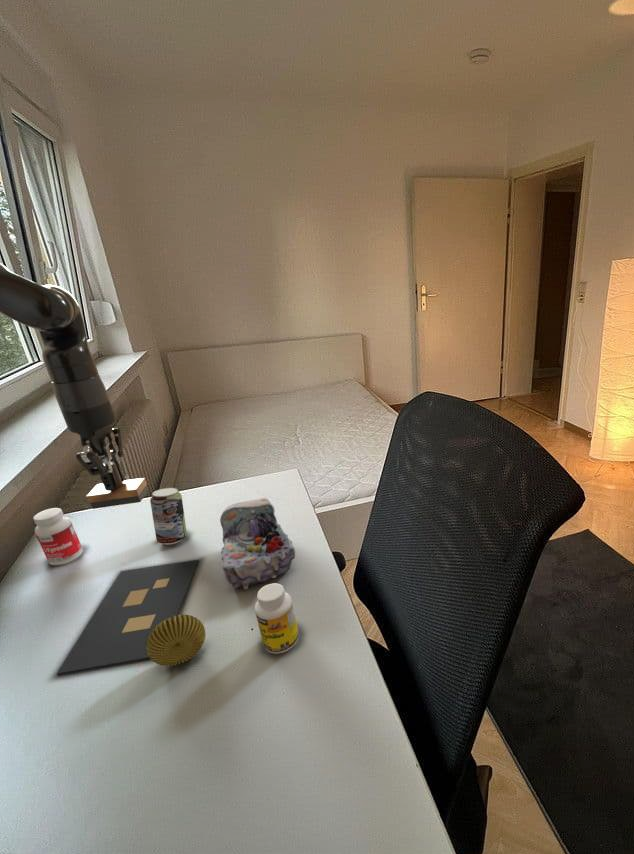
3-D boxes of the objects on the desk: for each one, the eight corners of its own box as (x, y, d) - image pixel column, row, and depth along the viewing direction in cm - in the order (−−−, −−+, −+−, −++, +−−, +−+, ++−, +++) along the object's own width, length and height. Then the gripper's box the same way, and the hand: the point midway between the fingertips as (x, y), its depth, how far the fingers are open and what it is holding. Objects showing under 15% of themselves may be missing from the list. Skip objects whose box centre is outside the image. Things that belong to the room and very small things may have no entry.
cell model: (268, 486, 96) (295, 532, 80) (276, 527, 101) (303, 578, 85) (204, 504, 91) (220, 557, 75) (215, 546, 95) (233, 606, 79)
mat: (57, 676, 67) (56, 673, 67) (121, 573, 89) (121, 571, 89) (162, 657, 69) (160, 655, 69) (199, 561, 91) (199, 559, 91)
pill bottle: (46, 570, 91) (24, 525, 87) (52, 554, 96) (32, 510, 92) (81, 560, 94) (62, 516, 89) (86, 545, 99) (68, 502, 94)
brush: (91, 509, 85) (76, 473, 82) (102, 497, 90) (88, 461, 87) (141, 502, 87) (128, 466, 84) (149, 490, 91) (137, 455, 88)
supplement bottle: (257, 653, 69) (244, 603, 65) (273, 625, 74) (262, 577, 70) (290, 658, 68) (279, 607, 64) (305, 629, 73) (295, 580, 69)
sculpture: (208, 638, 72) (196, 600, 69) (212, 655, 69) (200, 617, 66) (154, 662, 69) (138, 623, 65) (156, 681, 65) (140, 641, 62)
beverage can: (152, 547, 96) (135, 500, 92) (175, 528, 103) (161, 483, 98) (176, 550, 95) (160, 502, 90) (198, 530, 101) (185, 485, 97)
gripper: (80, 393, 86) (109, 472, 93) (40, 417, 73) (78, 506, 80) (121, 389, 87) (147, 467, 94) (90, 412, 74) (122, 500, 81)
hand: (115, 485), depth 87 cm, fingers closed on brush, 2 cm apart
